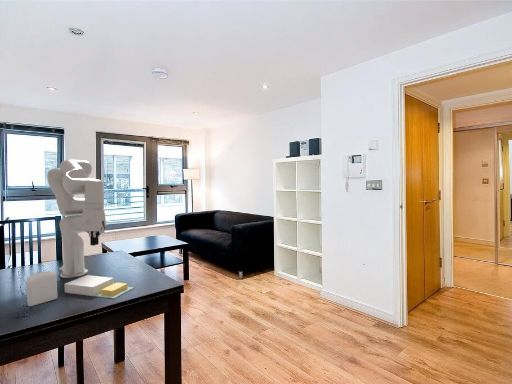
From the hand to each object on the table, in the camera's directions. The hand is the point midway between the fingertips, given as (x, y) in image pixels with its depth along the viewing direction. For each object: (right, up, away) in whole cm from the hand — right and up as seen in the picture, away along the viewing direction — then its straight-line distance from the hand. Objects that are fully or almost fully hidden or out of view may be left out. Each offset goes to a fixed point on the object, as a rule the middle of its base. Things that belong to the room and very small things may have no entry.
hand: (94, 244), depth 135 cm
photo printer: (-13, -21, -15) cm, 29 cm away
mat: (+12, -20, -6) cm, 24 cm away
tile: (+12, -18, -5) cm, 22 cm away
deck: (-1, -20, -2) cm, 20 cm away
